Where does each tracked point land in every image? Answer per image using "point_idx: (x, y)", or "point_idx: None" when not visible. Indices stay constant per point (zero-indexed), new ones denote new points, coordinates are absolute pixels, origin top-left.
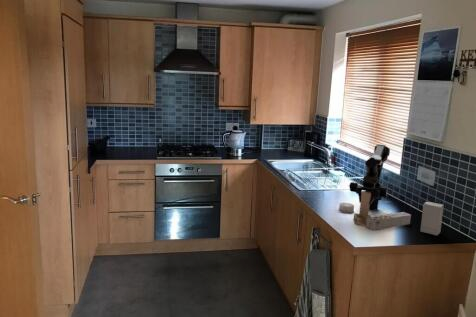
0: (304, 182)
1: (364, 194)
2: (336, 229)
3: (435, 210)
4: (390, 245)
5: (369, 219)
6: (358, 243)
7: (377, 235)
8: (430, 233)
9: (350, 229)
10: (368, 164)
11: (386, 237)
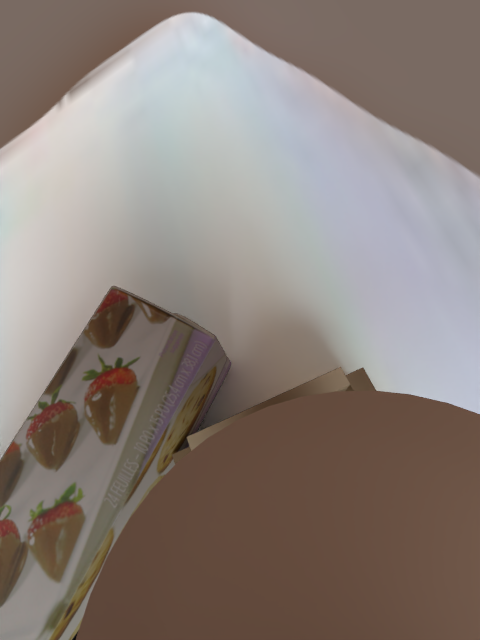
0: None
1: (372, 396)
2: (411, 137)
3: None
4: (8, 146)
5: (178, 315)
6: (186, 44)
7: (104, 246)
8: None
9: (323, 213)
10: None
11: (39, 256)
